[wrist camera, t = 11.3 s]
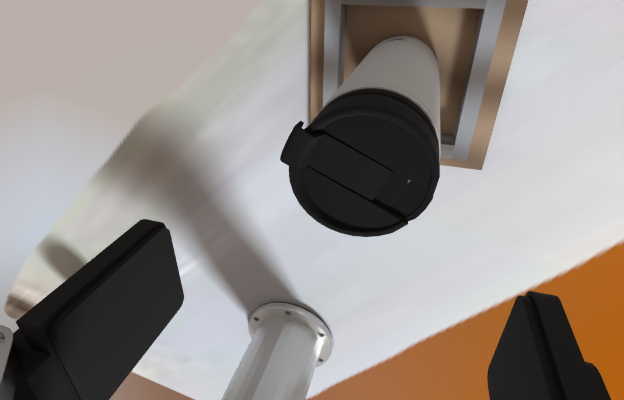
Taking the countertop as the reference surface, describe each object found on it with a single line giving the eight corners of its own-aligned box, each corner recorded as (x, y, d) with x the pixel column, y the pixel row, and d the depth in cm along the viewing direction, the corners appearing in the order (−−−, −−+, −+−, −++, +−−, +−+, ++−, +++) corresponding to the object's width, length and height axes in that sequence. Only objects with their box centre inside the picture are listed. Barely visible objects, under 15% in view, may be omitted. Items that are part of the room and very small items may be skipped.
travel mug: (384, 16, 30) (318, 71, 13) (455, 59, 30) (478, 167, 13) (346, 85, 33) (256, 197, 17) (410, 124, 33) (383, 272, 17)
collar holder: (480, 164, 35) (484, 182, 31) (313, 144, 38) (302, 158, 35) (536, -42, 26) (549, -45, 23) (315, -43, 30) (301, -45, 27)
